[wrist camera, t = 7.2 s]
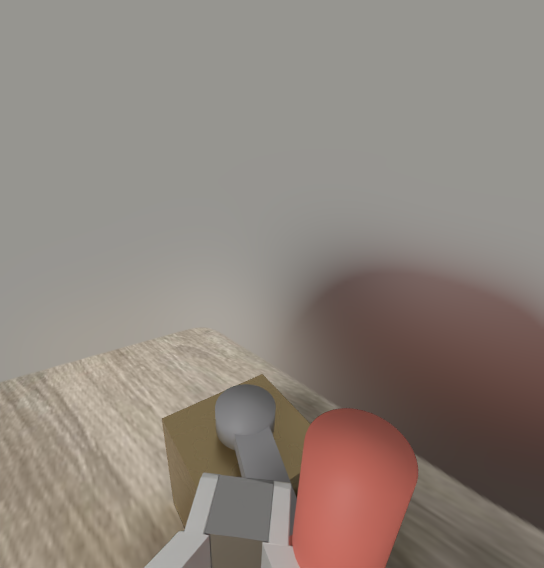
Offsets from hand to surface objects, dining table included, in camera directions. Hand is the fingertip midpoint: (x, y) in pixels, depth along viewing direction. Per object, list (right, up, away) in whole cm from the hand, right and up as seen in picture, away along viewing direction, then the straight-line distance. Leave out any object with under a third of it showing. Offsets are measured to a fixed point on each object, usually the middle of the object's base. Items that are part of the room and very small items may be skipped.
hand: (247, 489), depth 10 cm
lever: (+1, -3, +5) cm, 6 cm away
